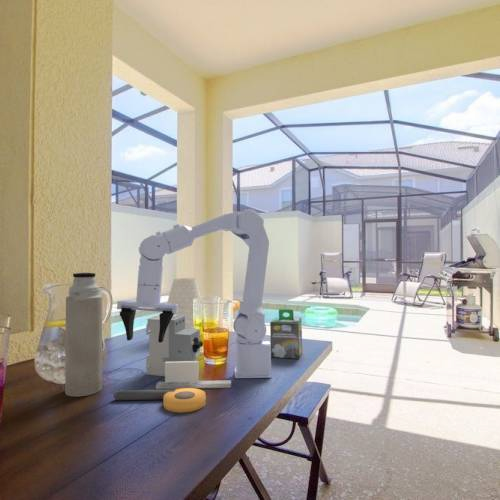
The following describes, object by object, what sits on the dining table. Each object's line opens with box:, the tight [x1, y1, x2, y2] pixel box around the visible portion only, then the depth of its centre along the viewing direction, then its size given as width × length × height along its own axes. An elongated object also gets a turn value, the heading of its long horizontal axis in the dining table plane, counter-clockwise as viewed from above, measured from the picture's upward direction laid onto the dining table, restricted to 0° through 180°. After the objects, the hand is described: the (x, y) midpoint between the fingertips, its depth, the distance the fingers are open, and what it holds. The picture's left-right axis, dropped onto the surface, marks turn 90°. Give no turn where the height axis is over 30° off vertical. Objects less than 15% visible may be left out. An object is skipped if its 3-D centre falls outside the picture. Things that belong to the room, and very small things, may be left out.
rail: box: [155, 379, 232, 390], centre depth 91 cm, size 18×2×1 cm, turn 93°
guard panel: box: [164, 360, 199, 383], centre depth 91 cm, size 8×1×5 cm, turn 93°
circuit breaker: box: [145, 314, 204, 377], centre depth 103 cm, size 8×14×15 cm, turn 78°
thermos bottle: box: [64, 272, 103, 398], centre depth 89 cm, size 8×8×28 cm
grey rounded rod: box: [113, 389, 176, 401], centre depth 83 cm, size 14×2×2 cm, turn 93°
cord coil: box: [162, 388, 207, 414], centre depth 80 cm, size 9×9×2 cm
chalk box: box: [269, 308, 303, 360], centre depth 120 cm, size 9×9×15 cm
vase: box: [166, 277, 202, 329], centre depth 147 cm, size 17×17×23 cm
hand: (145, 340), depth 91 cm, fingers open, 7 cm apart
